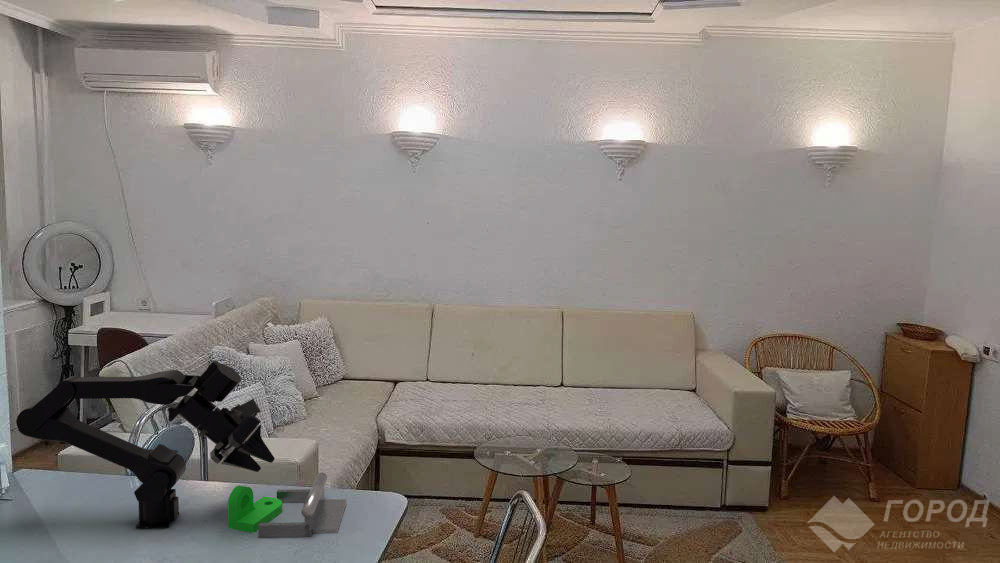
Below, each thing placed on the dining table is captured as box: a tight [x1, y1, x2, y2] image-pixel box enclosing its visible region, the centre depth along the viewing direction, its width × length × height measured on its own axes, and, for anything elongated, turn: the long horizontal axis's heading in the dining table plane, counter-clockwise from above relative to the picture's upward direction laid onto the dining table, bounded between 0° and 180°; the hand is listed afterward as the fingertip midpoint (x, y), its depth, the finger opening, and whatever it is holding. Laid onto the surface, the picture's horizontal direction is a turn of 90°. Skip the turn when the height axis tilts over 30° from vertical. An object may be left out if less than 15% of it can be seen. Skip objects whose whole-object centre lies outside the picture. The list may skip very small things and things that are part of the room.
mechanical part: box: [227, 485, 283, 534], centre depth 146 cm, size 12×6×8 cm, turn 164°
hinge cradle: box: [257, 472, 347, 539], centre depth 147 cm, size 15×17×6 cm
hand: (266, 465), depth 145 cm, fingers open, 9 cm apart
